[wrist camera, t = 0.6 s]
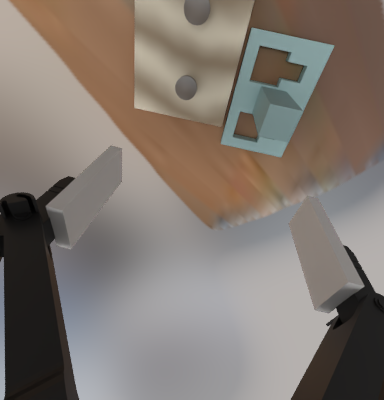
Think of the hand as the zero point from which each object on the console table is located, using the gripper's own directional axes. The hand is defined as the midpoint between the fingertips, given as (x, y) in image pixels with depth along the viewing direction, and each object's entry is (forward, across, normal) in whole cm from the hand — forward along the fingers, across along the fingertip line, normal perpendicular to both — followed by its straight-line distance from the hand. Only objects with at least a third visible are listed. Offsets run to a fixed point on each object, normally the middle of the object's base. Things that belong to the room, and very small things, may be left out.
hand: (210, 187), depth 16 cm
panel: (+22, +6, +2) cm, 23 cm away
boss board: (+22, -6, +6) cm, 24 cm away
